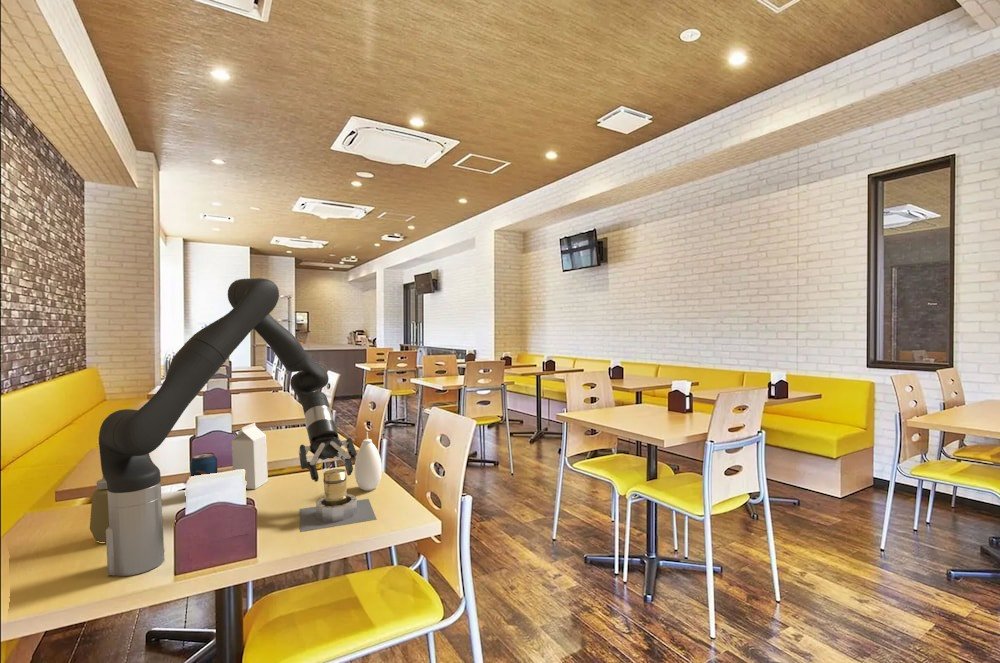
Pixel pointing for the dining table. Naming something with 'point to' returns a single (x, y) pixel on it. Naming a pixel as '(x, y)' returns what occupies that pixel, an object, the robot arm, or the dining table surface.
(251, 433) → the milk carton
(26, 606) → the dining table surface
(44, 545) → the dining table surface
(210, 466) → the soda can
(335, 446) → the robot arm
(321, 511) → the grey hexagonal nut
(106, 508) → the squeeze bottle
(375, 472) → the sauce bottle
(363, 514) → the mat
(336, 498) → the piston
